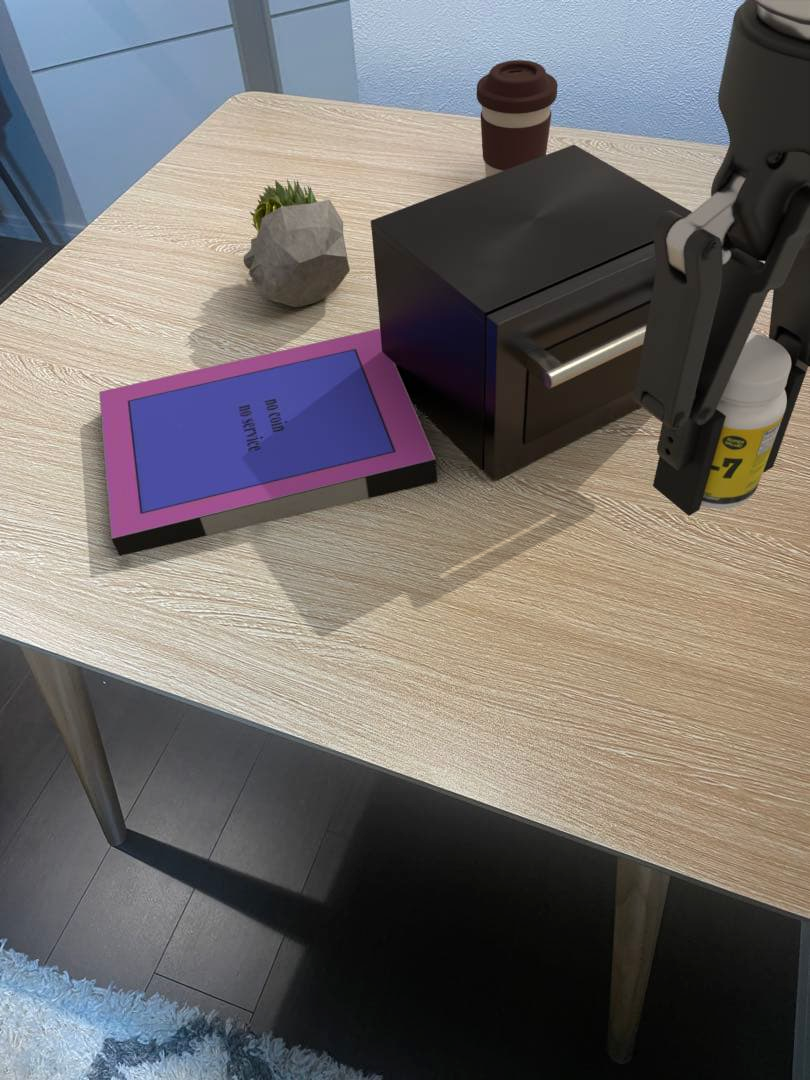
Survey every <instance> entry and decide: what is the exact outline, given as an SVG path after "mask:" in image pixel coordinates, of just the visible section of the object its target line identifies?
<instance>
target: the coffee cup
mask: <svg viewBox="0 0 810 1080" xmlns="http://www.w3.org/2000/svg"><path fill="white" fill-rule="evenodd" d="M558 85H559V84H558V81H557V79H556V78H555V77H554V76H553V75H552V74H549V73H548V72H547V71H546V69H545V67H544V66H543V65H541V64H540V63H538V62H534V61H531V60H525V59H514V60H507V61H503V62H499V63H497V64H495V65H493V67H491V68H490V70H489V72H488V73H487V74H486V75H484V76H482V77H481V78H479V80H478V82H477V84H476V100H477V102H478V103H479V104H480V105H481V112H480V130H481V132H480V133H481V147H482V150H481V151H482V159H483V161H484V172H485V176H484V177H485V178H486V177H489V176H491V175H494V174H497V173H499V172H502V171H505V170H507V169H510V168H513V167H515V166H518V165H521V164H523V163H526V162H529V161H531V160H534V159H537V158H539V157H542V156H545V155H547V151H548V143H549V136H550V128H551V121H552V110H551V107H552V105H553V104H554V102H555V101H556V100H557V97H558V87H559V86H558Z"/></svg>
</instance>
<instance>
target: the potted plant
mask: <svg viewBox="0 0 810 1080" xmlns="http://www.w3.org/2000/svg"><path fill="white" fill-rule="evenodd" d="M274 182H275V187H274V186H270V185H269V184H267V185H266V186H267V188H266V187H263V189H264V191H263V192H262V194H263V195H260V194H258V197H259V199H260V200H259V199H257V200H256V201H257V202H258V205H257V206H256V208H253V210H254V212H252V211H250V210H249V213H250V215H251V216H252V223H251V225H252V226H253V227H254V229H255V230H256V231H257V234H256V237H253V238H251V239H250V249H249V250H248V251H247V252H246V253H245V255H243V264H244V265H245V268H246V269H248V270H249V271H248V275H249V277H250V278H251V281H252V283H253V285H254V287H255V288H256V290H257V292H258V294H259V296H261V297H263V298H265V299H267V300H269V301H273V302H276V303H280V304H283V305H286V306H289V307H293V308H297V309H298V308H301V307H304V306H308V305H312V304H315V303H319V302H320V301H322V300H324V299H325V298H326V297H328V296H329V295H331V294H333V293H335V291H336V290H337V289H338V288H339V286H340V284H341V283H342V282H343V281H344V279H345V278H346V277H347V275H348V274H349V273H350V271H351V270H350V265H349V258H348V252H347V247H346V240H345V237H344V221H343V219H342V218H341V216H340V214H339V213H338V211H337V209H336V207H335V206H334V204H333V203H332V201H331V199H325V200H321V201H318V200H317V199H316V196H315V195H314V192H313V189H312V187H311V186H307V188H306V187H305V186H303V189H304V191H303V189H302V187H301V185H300V183H299V179H297V181H295V179H293V183H294V185H293V186H294V187H293V186H292V184H291V182H290V181H289V179H288V178H287V179H286V182H287V187H286V186H283V185H282V184H281V183H279V182H278V181H277V179H275V180H274Z"/></svg>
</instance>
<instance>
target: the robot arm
mask: <svg viewBox="0 0 810 1080" xmlns="http://www.w3.org/2000/svg"><path fill="white" fill-rule="evenodd" d="M728 40H729V41H728V44H727V49H726V54H725V58H724V63H723V68H722V74H721V79H720V84H719V89H718V93H717V103H718V108H719V111H720V113H721V115H722V118H723V121H724V123H725V126H726V129H727V133H728V137H729V144H728V148H727V151H726V154H725V156H724V158H723V161H722V162H721V164H720V166H719V168H718V169H717V172H716V174H715V175H714V178H713V181H712V183H711V189H710V197H709V198H708V199H706V200H705V201H704V202H702V203H701V204H700V205H699V206H698V207H697V208H695V209H694V210H693V211H692V213H691V214H689V215H688V216H687V217H686V218H684V217H682V216H680V215H679V214H677V213H675V212H673V211H672V210H671V211H667V212H665V213H663V214H662V215H661V216H660V217H659V218H658V220H657V221H656V223H655V225H654V228H653V240H654V247H655V254H656V260H657V270H656V275H655V281H654V286H653V292H652V297H651V303H650V308H649V314H648V320H647V325H646V331H645V336H644V342H643V347H642V353H641V359H640V364H639V370H638V375H637V381H636V386H635V392H634V401H635V402H636V403H638V404H639V405H640V406H641V407H640V408H642V409H644V410H645V411H647V412H648V413H649V414H650V415H652V416H653V417H654V418H655V419H657V421H660V422H661V423H662V424H661V428H660V432H659V433H660V434H659V437H658V441H657V445H656V452H657V455H658V456H659V457H658V460H657V465H656V470H655V474H654V479H653V483H652V487H653V488H655V490H657V491H658V492H659V493H660V494H661V495H663V496H664V497H665V498H666V499H667V500H669V501H670V502H671V503H672V504H674V505H675V506H676V507H677V508H678V509H680V510H681V511H682V512H683V513H684V514H686V515H687V516H688V517H690V516H692V515H693V514H695V513H697V512H699V511H700V509H701V507H702V506H701V503H702V499H703V496H704V492H705V488H706V485H707V481H708V478H709V474H710V471H711V467H712V464H713V460H714V457H715V453H716V450H717V446H718V442H719V439H720V435H721V432H722V428H723V425H724V421H725V418H726V416H725V415H724V414H723V413H721V412H720V411H718V410H717V409H716V408H717V406H718V404H719V401H720V399H721V397H722V395H723V393H724V390H725V388H726V386H727V384H728V381H729V379H730V377H731V375H732V372H733V370H734V368H735V366H736V363H737V361H738V359H739V357H740V354H741V352H742V350H743V348H744V346H745V343H746V341H747V339H748V337H749V334H750V333H752V330H753V327H754V325H755V323H756V321H757V319H758V316H759V314H760V312H761V310H762V307H763V305H764V302H765V301H766V298H767V296H768V294H769V292H770V291H772V292H773V293H772V300H771V301H772V303H771V311H770V321H769V332H768V338H771V339H773V340H774V341H776V342H778V343H779V344H780V345H782V346H783V347H784V348H785V349H786V350H787V352H788V353H789V355H790V358H791V369H790V372H789V376H788V379H787V384H786V386H785V388H784V389H785V392H786V396H787V404H786V409H785V412H784V415H783V418H782V421H781V424H780V426H779V429H778V432H777V435H776V438H775V440H774V443H773V446H772V449H771V451H770V454H769V457H768V460H767V462H766V465H765V468H764V471H763V473H762V474H764V473H766V472H767V471H769V470H771V469H772V468H774V466H775V463H776V460H777V458H778V455H779V451H780V449H781V446H782V443H783V441H784V437H785V434H786V432H787V429H788V425H789V424H790V421H791V418H792V415H793V412H794V409H795V406H796V403H797V400H798V398H799V394H800V392H801V389H802V386H803V384H804V380H805V378H806V374H807V372H808V369H809V368H810V0H744V2H743V3H741V4H740V6H739V7H738V8H737V9H736V10H735V12H734V16H733V19H732V24H731V29H730V34H729V39H728Z"/></svg>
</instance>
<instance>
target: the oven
mask: <svg viewBox="0 0 810 1080" xmlns="http://www.w3.org/2000/svg"><path fill="white" fill-rule="evenodd" d="M671 210H672V211H673V212H675V213H677V214H679V215H680V216H682V217H684V218H686V217H687V216H688V215H689V214H691V213H692V212H693V211H692V210H690V209H688V208H686V207H685V206H683V205H681V204H679V203H678V202H675V200H672V199H670V198H669V197H667V196H665V195H664V194H662V193H660V192H658V191H657V190H655V189H654V188H652V187H649V186H648V185H646V184H645V183H642V182H641V181H639V180H638V179H635V178H634V177H632V176H630V175H629V174H627V173H625V172H624V171H622V170H619V169H618V168H616V167H615V166H613V165H611V164H609V163H608V162H606V161H604V160H602V159H601V158H599V157H597V156H596V155H593V154H592V153H590V152H588V151H586V150H585V149H583V148H581V147H580V146H578V145H576V144H572V145H569V146H567V147H563V148H561V149H558V150H555V151H553V152H551V153H546V155H545V156H542V157H539V158H537V159H534V160H531V161H529V162H526V163H523V164H521V165H518V166H515V167H513V168H510V169H507V170H505V171H502V172H499V173H497V174H494V175H491V176H489V177H486V176H485V177H484V178H480V179H478V180H476V181H473V182H470V183H468V184H464V185H462V186H459V187H456V188H454V189H451V190H448V191H446V192H443V193H440V194H438V195H435V196H432V197H430V198H427V199H425V200H422V201H419V202H416V203H413V204H411V205H409V206H405V207H403V208H401V209H398V210H395V211H392V212H390V213H387V214H385V215H381V216H379V217H377V218H373V219H371V220H370V228H371V229H370V230H371V239H372V250H373V263H374V264H373V265H374V274H375V285H376V297H377V309H378V321H379V322H378V323H379V328H380V334H381V345H382V352H383V353H384V354H385V355H386V356H387V357H389V358H390V359H391V360H392V361H393V362H394V363H395V365H396V367H397V370H398V372H399V374H400V377H401V379H402V381H403V384H404V386H405V388H406V391H407V393H408V395H409V398H410V400H411V402H412V405H413V406H414V407H416V409H418V411H420V412H421V413H422V414H423V415H424V416H425V417H426V418H427V419H428V420H429V421H430V422H431V423H432V424H433V425H434V426H435V427H436V428H437V429H438V430H439V431H440V432H441V433H442V434H443V435H445V437H446V438H447V439H449V441H451V443H452V444H453V445H454V446H456V448H457V449H459V451H461V452H462V454H463V455H465V456H466V457H467V458H468V460H470V462H471V463H473V464H474V465H475V466H476V467H477V468H478V469H479V470H480V471H481V472H484V443H485V376H486V316H487V315H489V314H491V313H494V312H496V311H498V310H500V309H503V308H505V307H507V306H510V305H512V304H514V303H517V302H519V301H521V300H523V299H526V298H528V297H530V296H533V295H535V294H537V293H540V292H542V291H544V290H547V289H549V288H551V287H553V286H556V285H558V284H560V283H563V282H565V281H567V280H570V279H572V278H574V277H576V276H579V275H581V274H583V273H586V272H588V271H590V270H593V269H595V268H597V267H599V266H602V265H604V264H606V263H609V262H611V261H613V260H616V259H618V258H620V257H623V256H625V255H627V254H629V253H632V252H634V251H636V250H639V249H641V248H643V247H646V246H648V245H650V244H652V243H654V240H653V228H654V225H655V223H656V221H657V220H658V218H659V217H660V216H661V215H662V214H663V213H665V212H667V211H671Z"/></svg>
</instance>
